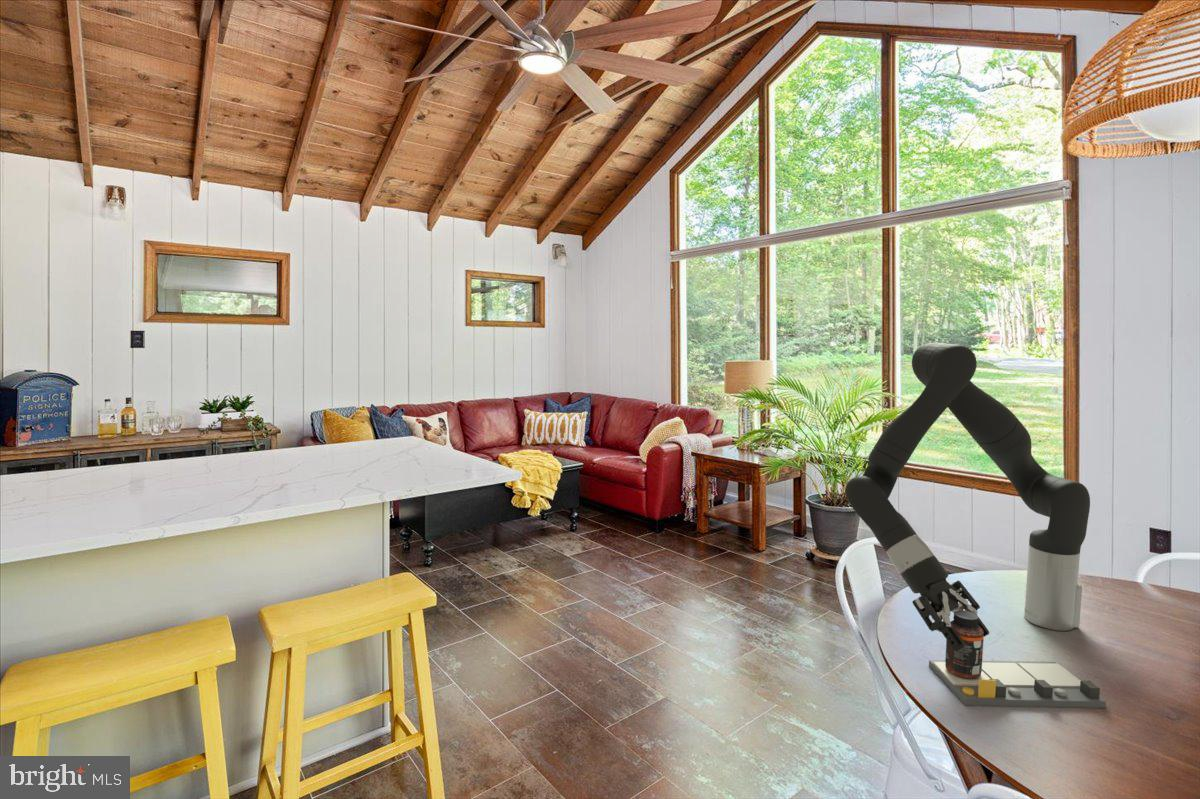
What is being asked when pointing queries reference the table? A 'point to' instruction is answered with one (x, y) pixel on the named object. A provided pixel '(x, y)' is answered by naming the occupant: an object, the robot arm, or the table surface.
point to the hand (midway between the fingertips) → (973, 642)
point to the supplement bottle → (970, 656)
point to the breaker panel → (1021, 685)
